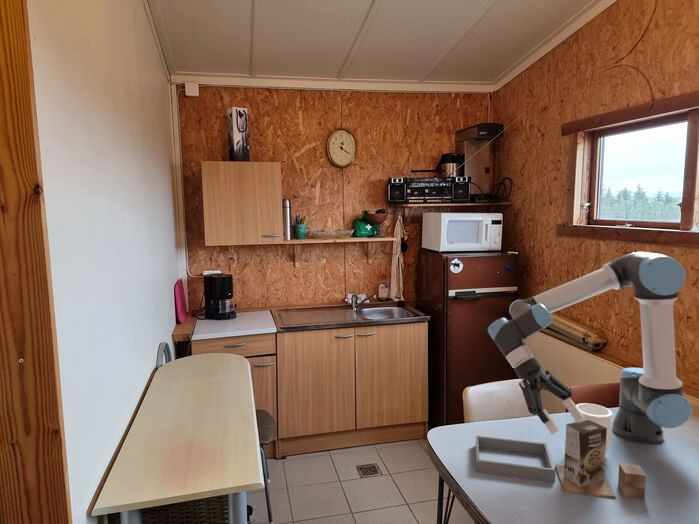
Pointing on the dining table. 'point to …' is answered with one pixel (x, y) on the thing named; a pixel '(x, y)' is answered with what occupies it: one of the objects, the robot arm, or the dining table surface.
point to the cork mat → (593, 489)
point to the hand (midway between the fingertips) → (568, 425)
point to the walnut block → (632, 481)
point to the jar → (597, 417)
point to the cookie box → (585, 453)
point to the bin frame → (515, 469)
